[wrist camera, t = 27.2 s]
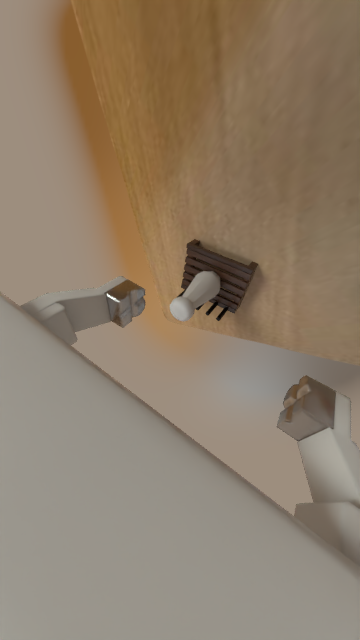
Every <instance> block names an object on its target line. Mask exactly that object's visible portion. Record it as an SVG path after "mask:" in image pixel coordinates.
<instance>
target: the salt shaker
mask: <svg viewBox="0 0 360 640" xmlns="http://www.w3.org/2000/svg"><path fill="white" fill-rule="evenodd" d="M219 291H220V277H219V276H218V275H217V274H216V273H215V272H214V271H211V272H208V271H203V272H200V273H198V274H197V275H196V276H195V278H194V279H193V281H192V282H191V284H190V285H189V287H188V288H187V289H186V291H185V292H184V294H183V295H182V296H180V297H177V298H175V299H174V300H173V301H172V303H171V304H170V311H171V313H172V315H173V316H174V317H175V318H176V319H178V320H180V321H187V320H189V319H190V318H191V317H192V316H193V314H194V310H195V309H196V308H197V307H199V306H201V305H202V304H204V303H205V302H207V301H209V300H210V299H212V298H214V297H215V296H216V295H217V294H218V293H219Z"/></svg>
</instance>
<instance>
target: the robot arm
mask: <svg viewBox="0 0 360 640" xmlns="http://www.w3.org/2000/svg"><path fill="white" fill-rule="evenodd" d="M144 295H145V290H144V288H142V287H140V286H138V285H137V284H135V283H133V282H132V281H130V280H128V279H126V278H124V277H123V276H119V277H117V278H115V279H113V280H112V281H110V282H108V283H106V284H104V285H103V286H101V287H99V288H97V289H96V288H88V289H80V290H72V291H64V292H55V293H46V294H44V295H42V296H40V297H38V298H36V299H34V300H32V301H30V302H28V303H26V304H24V305H21V306H18V305H17V304H16V303H15V302H13V301H12V300H11V299H9V298H8V297H7V296H5V295H4V294H3V293H1V292H0V640H360V450H359V448H358V447H357V445H356V443H354V442H353V441H351V400H350V398H348V397H347V396H345V395H343V394H341V393H339V392H337V391H335V390H333V389H331V388H329V387H328V386H326V385H324V384H322V383H320V382H318V381H316V380H314V379H312V378H310V377H308V376H304V377H302V378H301V379H300V382H299V384H298V385H293V386H292V387H291V388H290V389H289V390H288V392H287V393H286V396H285V398H284V402H283V405H284V408H285V410H283V411H282V412H281V413H280V417H279V420H278V424H277V427H278V428H279V429H281V430H282V431H283V432H285V433H287V434H288V435H290V436H291V437H292V438H294V439H295V440H297V441H298V442H297V443H298V447H299V450H300V454H301V458H302V462H303V465H304V469H305V473H306V476H307V480H308V484H309V487H310V491H311V495H312V499H313V502H314V503H300V504H296V508H295V515H294V516H293V515H292V514H290V513H289V512H288V511H286V510H285V509H284V508H282V507H281V506H280V505H278V504H277V503H276V502H275V501H273V500H272V499H271V498H269V497H268V496H267V495H265V494H264V493H263V492H261V491H260V490H259V489H258V488H256V487H255V486H254V485H252V484H251V483H250V482H248V481H247V480H246V479H244V478H243V477H242V476H241V475H239V474H238V473H237V472H235V471H234V470H233V469H231V468H230V467H229V466H227V465H226V464H225V463H224V462H222V461H221V460H220V459H218V458H217V457H216V456H214V455H213V454H212V453H210V452H209V451H208V450H207V449H205V448H204V447H202V446H201V445H200V444H199V443H197V442H196V441H195V440H194V439H192V438H191V437H190V436H188V435H187V434H186V433H184V432H183V431H182V430H181V429H179V428H178V427H177V426H175V425H174V424H172V423H171V422H170V421H169V420H167V419H166V418H165V417H164V416H162V415H161V414H160V413H158V412H157V411H156V410H154V409H153V408H152V407H150V406H149V405H148V404H147V403H145V402H144V401H143V400H141V399H140V398H139V397H137V396H136V395H135V394H133V393H132V392H131V391H130V390H128V389H127V388H126V387H124V386H123V385H122V384H120V383H119V382H118V381H116V380H115V379H114V378H113V377H111V376H110V375H109V374H107V373H106V372H105V371H103V370H102V369H101V368H99V367H98V366H97V365H96V364H94V363H93V362H91V361H90V360H89V359H88V358H86V357H85V356H84V355H82V354H81V353H80V352H79V351H77V350H76V349H75V348H73V347H72V346H71V345H72V344H74V343H75V342H76V341H77V337H76V334H75V332H77V331H81V330H84V329H87V328H90V327H94V326H98V325H101V324H104V323H108V322H110V321H112V322H114V323H116V324H117V325H119V326H121V327H125V326H126V325H127V324H128V323H130V322H131V321H132V317H136V316H138V315H140V314H141V313H142V311H143V310H144V308H145V300H144V298H143V296H144Z"/></svg>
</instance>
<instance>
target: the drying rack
mask: <svg viewBox="0 0 360 640" xmlns="http://www.w3.org/2000/svg"><path fill="white" fill-rule="evenodd" d="M187 254H188V256H187V257H186V260H185V262H186V264H185V267H184V270H185V272H184V273H183V277H184V279H183V280H182V286H181V288H183V289H185V290H184V291H183V292H182V293H181V294H180V295H179V296H177V297H180V296H182V295H183V294H184V292H185V291H186V289H187V288H188V287H189V285H190V284H191V282H192V281H193V279H194V278H195V276H194V275H193V274H195V275H197V274H198V273H200V272H203V271H201V270H199V269H196V268H194V267H195V266H196V267H198V268H200V269H203V270H205V271H208V272H211V271H214V272H215V273H216V274H217V275H218V276H219V277H221V278H223V279H225V280H227V281H230V282H232V283H234V284H237V285H239V286H240V288H239V287H237V286H235V285H232V284H230V283H228V282H226V281H223V280H221V279H220V286H221V287H223V288H226V289H228V290H230V291H232V292H234V293H237V295H235V294H233V293H231V292H229V291H227V290H224V289H222V288H220V291H219V294H221V295H223V296H225V297H227V298H229V299H231V300H233V301H234V302H233V301H231V300H228V299H226V298H224V297H222V296H220V295H218V294H217V295H216V296H215V297H214V298H212V299H210V300H209V301H210V302H212V303H214V304H213V305H212V306H211V307H210V309H209V310H208V311H207V312H206V315H209V314H210V313H211V312H212V311H213V310H214V308H215V307H216V306H217V305H218V306H220V307H222V308H224V309H223V310H222V312H221V313H220V314H219V316H218V317H217V318H216V319H217V321H220V319H221V318H222V317H223V315H224V314H225V313H226V311H227V310H228V311H230V312H232V313H235V312H236V311H237V309H238V308H239V306H240V304H241V301H242V299H243V297H244V295H245V292H246V290H247V288H248V286H249V283H250V281H251V279H252V277H253V274H254V272H255V270H256V268H257V265H258V264H257V263H254V262H252V263H251V264H250V265H249V266H247V265H244V264H242V263H239V262H237V261H234V260H232V259H229V258H227V257H224V256H222V255H219V254H217V253H214V252H212V251H210V250H207V249H205V248H202V247H200V246H199V241H198V240H196V239H194V240H193V241H191V242H190V243H188V244H187ZM196 258H198V259H200V260H202V261H205V262H207V263H210V264H212V265H214V266H217V267H219V268H221V269H224V270H226V271H228V272H231V273H233V274H235V275H238V276H240V277H242V278H243V280H242V279H240V278H237V277H235V276H233V275H230V274H228V273H226V272H223V271H221V270H219V269H216V268H214V267H212V266H209V265H207V264H205V263H202V262H200V261H198V260H196ZM203 305H204V304H202V305H201V306H199V307H197V308H196V310H199V309H200V308H201V307H202V306H203Z"/></svg>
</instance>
